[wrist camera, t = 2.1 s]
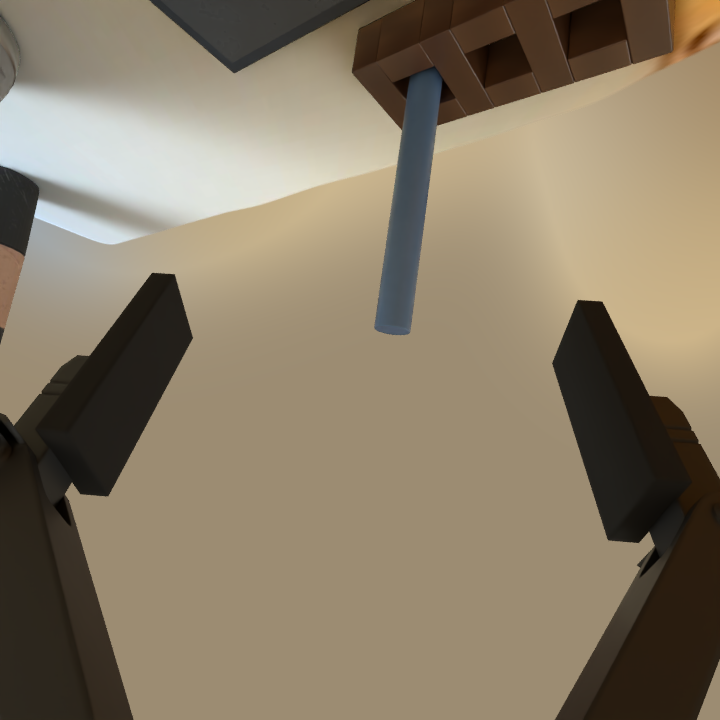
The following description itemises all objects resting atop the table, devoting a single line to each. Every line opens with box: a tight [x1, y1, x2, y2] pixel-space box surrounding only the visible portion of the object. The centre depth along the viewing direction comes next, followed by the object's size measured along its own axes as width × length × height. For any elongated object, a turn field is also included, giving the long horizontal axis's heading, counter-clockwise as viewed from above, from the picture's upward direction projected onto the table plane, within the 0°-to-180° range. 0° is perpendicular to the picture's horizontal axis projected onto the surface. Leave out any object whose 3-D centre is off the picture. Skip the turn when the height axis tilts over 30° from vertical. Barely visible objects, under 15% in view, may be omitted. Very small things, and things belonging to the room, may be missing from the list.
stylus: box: [375, 66, 443, 335], centre depth 28 cm, size 2×2×18 cm
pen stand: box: [352, 0, 675, 130], centre depth 26 cm, size 16×6×3 cm, turn 126°
